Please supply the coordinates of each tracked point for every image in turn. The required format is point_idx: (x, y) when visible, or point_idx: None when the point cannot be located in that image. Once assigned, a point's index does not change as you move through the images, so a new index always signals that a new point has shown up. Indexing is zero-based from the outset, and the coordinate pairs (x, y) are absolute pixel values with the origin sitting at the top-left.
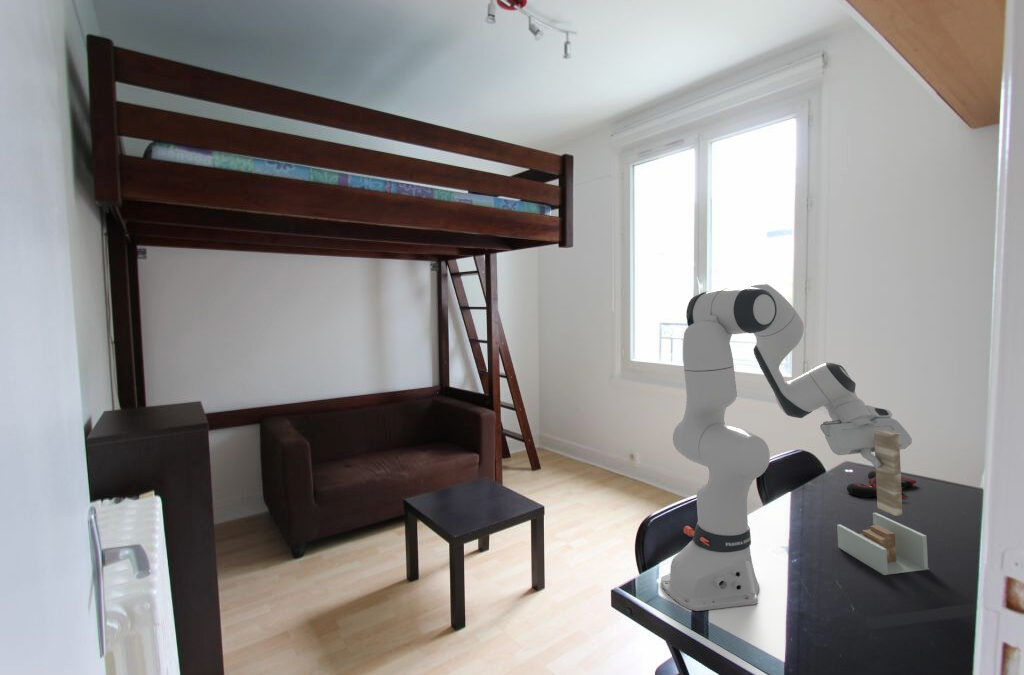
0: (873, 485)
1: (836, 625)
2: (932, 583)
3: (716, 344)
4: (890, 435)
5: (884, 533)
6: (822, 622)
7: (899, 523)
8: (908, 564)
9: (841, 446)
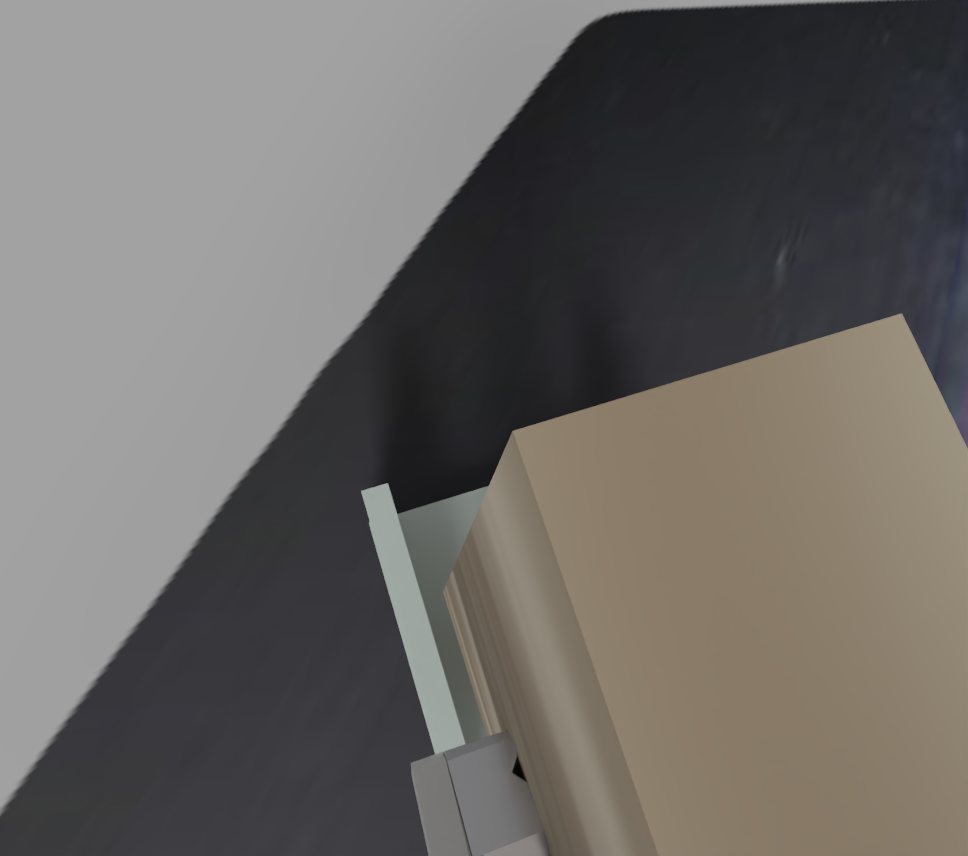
0: None
1: (861, 163)
2: (401, 455)
3: None
4: (886, 389)
5: None
6: (900, 176)
7: (419, 685)
8: (439, 562)
9: None
